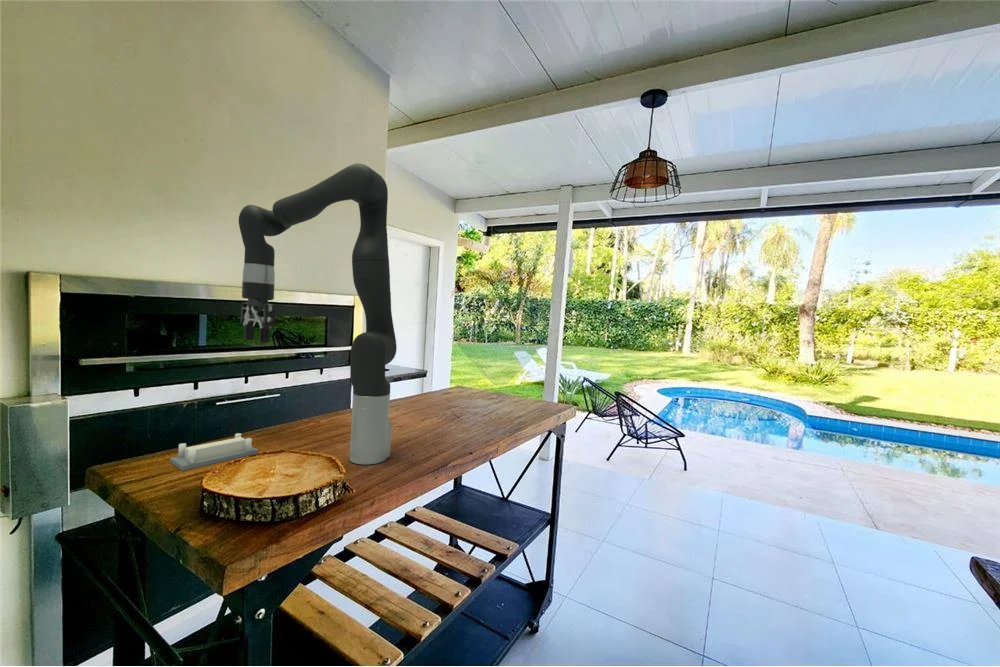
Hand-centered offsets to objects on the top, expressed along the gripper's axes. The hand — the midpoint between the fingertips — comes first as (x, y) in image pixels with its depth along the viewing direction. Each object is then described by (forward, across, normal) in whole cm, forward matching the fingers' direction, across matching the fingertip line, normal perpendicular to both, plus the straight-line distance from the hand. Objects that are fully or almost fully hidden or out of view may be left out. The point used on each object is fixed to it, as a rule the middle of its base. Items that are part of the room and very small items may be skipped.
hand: (256, 341), depth 110 cm
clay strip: (+27, -6, +11) cm, 30 cm away
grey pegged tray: (+28, -6, +11) cm, 31 cm away
